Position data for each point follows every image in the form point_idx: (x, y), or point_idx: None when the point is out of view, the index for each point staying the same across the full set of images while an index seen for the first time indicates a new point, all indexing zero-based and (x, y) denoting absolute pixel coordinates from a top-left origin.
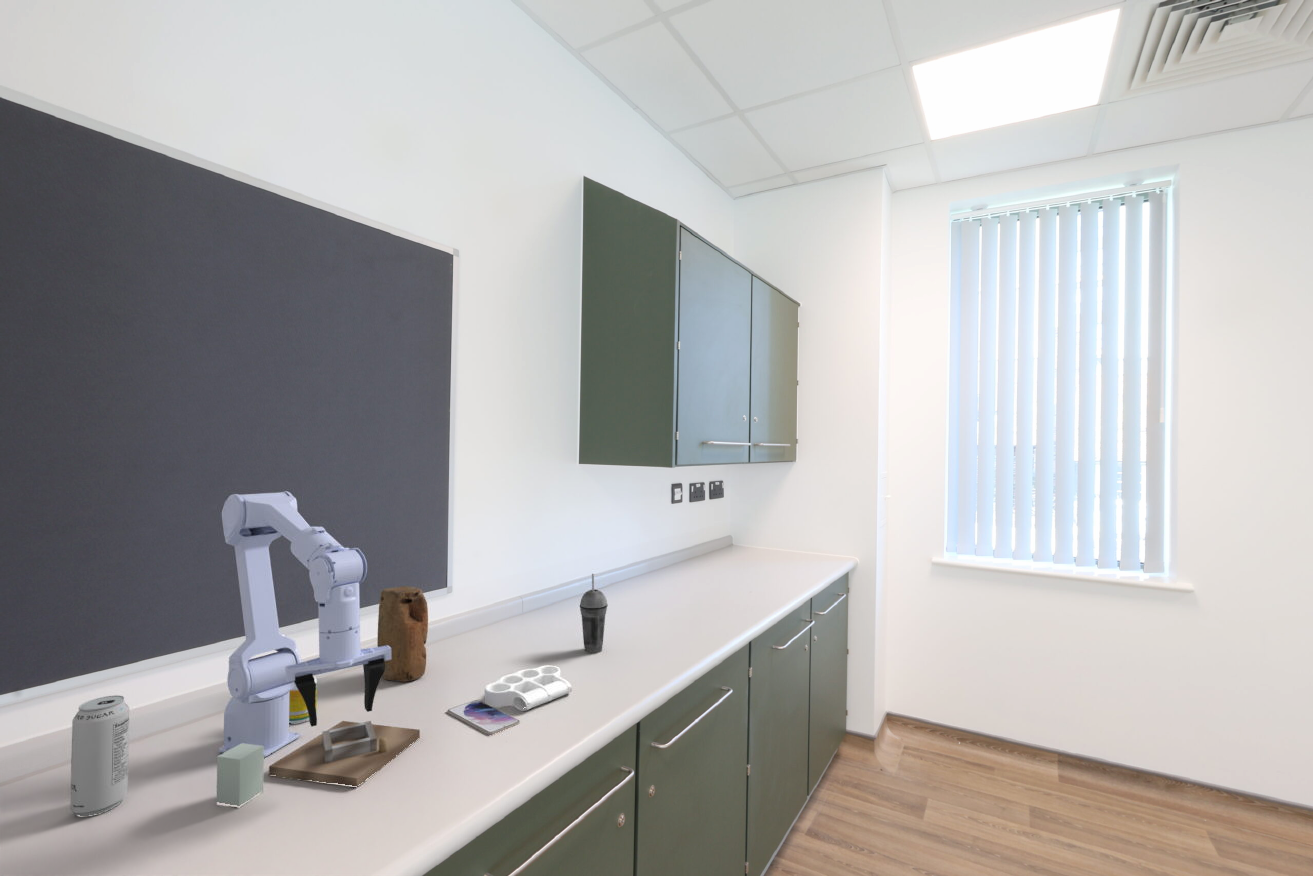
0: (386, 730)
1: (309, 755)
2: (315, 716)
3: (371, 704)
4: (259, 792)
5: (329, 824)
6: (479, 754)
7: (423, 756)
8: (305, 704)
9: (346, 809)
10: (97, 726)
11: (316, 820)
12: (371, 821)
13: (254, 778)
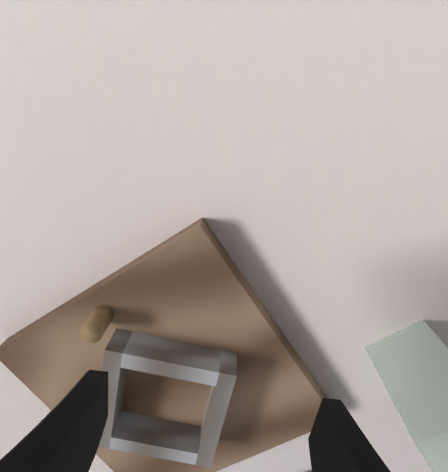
0: None
1: (253, 408)
2: (343, 432)
3: (76, 390)
4: (376, 347)
5: (311, 96)
6: None
7: (19, 248)
8: None
9: (254, 136)
10: None
11: (327, 141)
12: (225, 19)
13: (407, 369)
